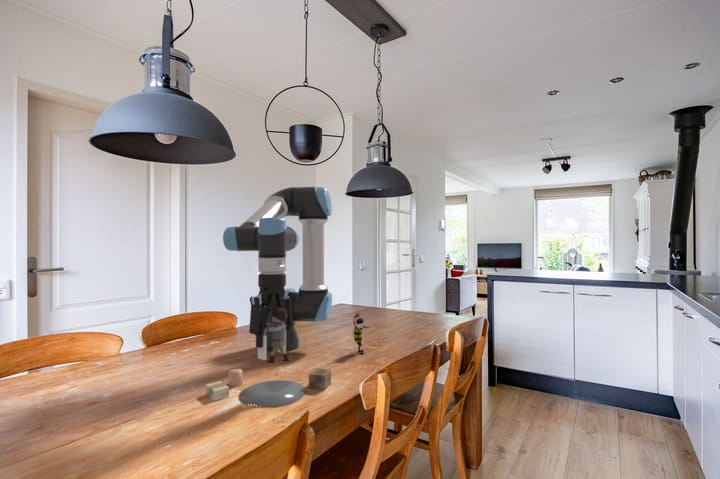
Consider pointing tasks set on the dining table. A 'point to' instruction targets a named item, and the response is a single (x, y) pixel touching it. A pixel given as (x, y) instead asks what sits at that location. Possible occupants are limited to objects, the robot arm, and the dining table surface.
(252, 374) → the dining table surface
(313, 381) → the walnut block
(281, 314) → the toy
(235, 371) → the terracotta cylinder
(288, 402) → the plate
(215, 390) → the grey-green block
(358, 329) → the toy
